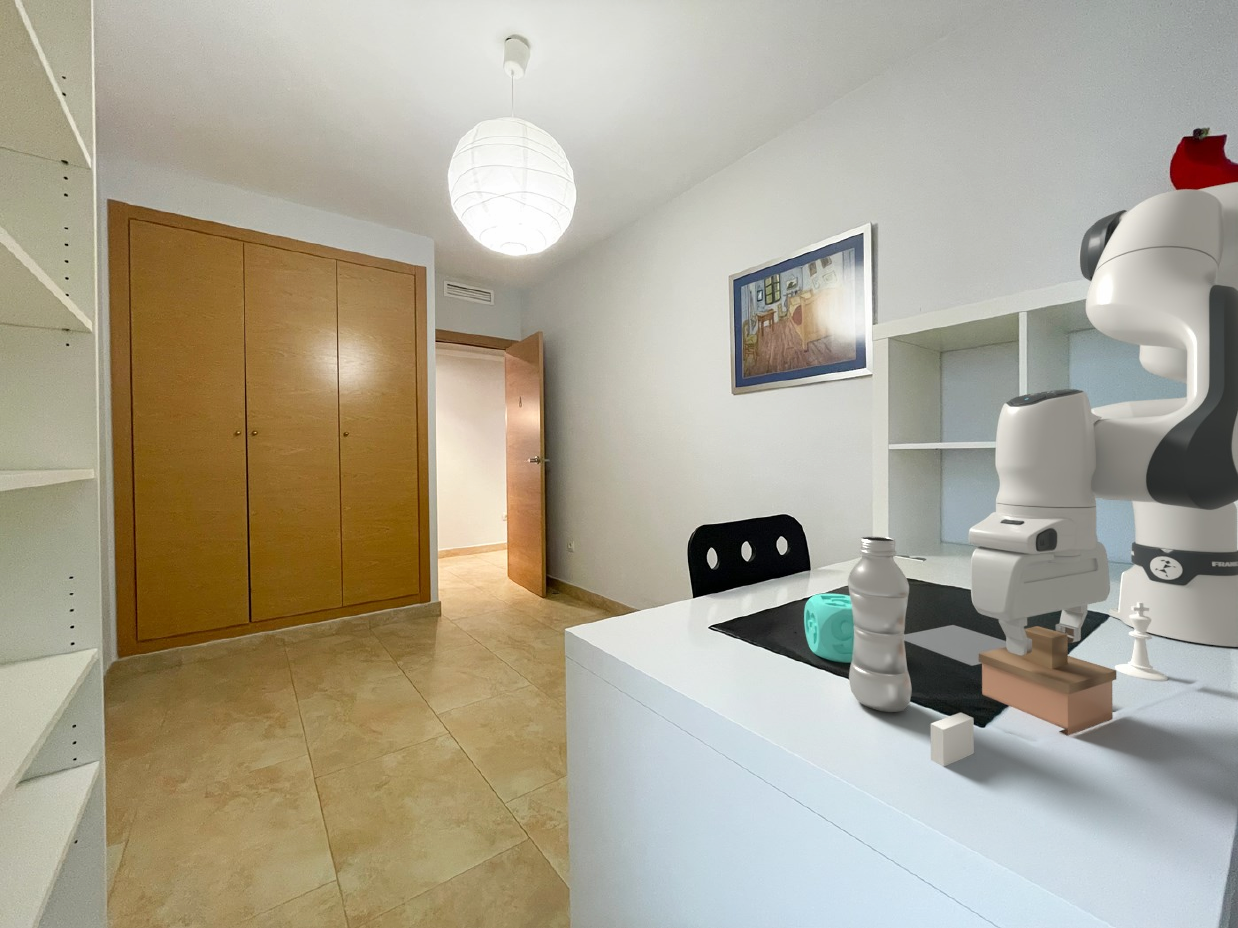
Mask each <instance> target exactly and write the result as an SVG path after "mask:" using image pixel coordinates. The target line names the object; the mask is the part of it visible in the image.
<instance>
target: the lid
mask: <svg viewBox="0 0 1238 928" xmlns="http://www.w3.org/2000/svg"><path fill="white" fill-rule="evenodd" d="M1024 629H1025V633H1026V636H1027V638H1030V639H1032V646H1031V648H1032V652H1031V653H1029V654H1026V655H1022V656H1021V655H1017V654H1014V653H1011V652H1009V651H1008V650H1007V647H1004V648H1000V649H995V650H991V651H987V652H983V653H979V662H981V663H984V664H986V665H989V666H992V667H995V668H998V669H1000V670H1003V671H1006V672H1009V673H1011V674H1014V675H1017V676H1020V677H1022V678H1025V679H1028V680H1031V681H1033V682H1036V683H1039V684H1042V685H1044V686H1047V687H1050V688H1053V689H1055V690H1058V691H1061V692H1064V693H1066V694H1072V693H1075V692H1079V691H1082V690H1085V689H1088V688H1091V687H1094V686H1097V685H1100V684H1104V683H1107V682H1110V681H1112V682H1113V681H1115V680H1116V681H1117V670H1116V669H1113V668H1109V667H1107V666H1103V665H1099V664H1097V663H1094V662H1093V663H1092V662H1089V661H1087V660H1085V659H1084V660H1083V659H1080V658H1077V657H1074V656H1070V655H1068V643H1069V642H1068V638H1067V634H1064V633H1061V632H1057V631H1056V630H1053V629H1050V628H1049V629H1048V628H1047V627H1041V626H1038V625H1035V626H1033V627H1027V628H1024Z"/></svg>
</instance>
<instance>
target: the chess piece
mask: <svg viewBox="0 0 1238 928" xmlns="http://www.w3.org/2000/svg"><path fill="white" fill-rule="evenodd" d="M1131 610H1134V611H1137V614H1133V615H1130V616H1129V618H1130V620H1131V622H1132V625H1133V627H1132V628H1133V629H1134V630H1133V631H1132V630H1131V631H1129V632H1128V636H1131V637H1133V638H1134V644H1133V651H1132V656H1131V660H1130V661H1127V663H1120V664H1116V665H1115V666H1114V670H1116V672H1119V673H1122V674H1124V675H1126V676H1129V677H1132V678H1136V679H1140V680H1145V681H1146V680H1147V681H1150V682H1151V681H1152V682H1166V681H1168V680H1169V679H1168V676H1167V675H1165V674H1164V673H1162V672H1160V671H1158V670H1156V669H1154V666H1153V665H1151V663H1150V661H1149V655H1148V648H1147V641H1146V640H1151V639H1153V637H1152V635H1151V634H1149V633H1148V632H1146V630H1147V629H1148V626H1149V624H1150V623H1151V618H1149V617H1147V616H1145V615H1143V611H1149V608H1148V607H1143V603H1142V602H1137V607H1134V606H1131Z"/></svg>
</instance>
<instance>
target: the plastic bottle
mask: <svg viewBox="0 0 1238 928" xmlns="http://www.w3.org/2000/svg"><path fill="white" fill-rule="evenodd" d="M859 553H860V554H861V558H860V559H859V561H858V562H857V563H855V565H854V567H852V569H851V571H850V572H849V574H848V577H847V578H848V579H847V586H848V592H849V596H850V599H851V605H852V612H853V623H854V642H853V656H852V662H851V663H850V667H849V674H848V680H849V685H850V690H851V692H852V694H853V696H854V697H855V699H856V700H857V701H858V702H859V703H860V704H862V705H863V706H865V707H867V708H870V709H873V710H875V711H880V712H887V713H899V712H902V711H904V710H905V709H906V708H907V706H908V705H910V703H911V697H912V692H913V691H912V690H913V689H912V683H911V677H910V674H909V670H908V665H907V656H906V646H905V641H904V635H905V630H906V629H905V628H906V616H907V615H906V613H907V607H908V602H909V601H908V599H909V593H910V585H909V582H908V579H907V576H906V575H905V573H904V572H903V571H902V569H901V567H899V564H897V562H895V560H894V557H896V556H897V551H896V539H894V538H891V537H885V536H884V537H883V536H862V537H860V548H859Z"/></svg>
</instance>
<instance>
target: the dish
mask: <svg viewBox="0 0 1238 928" xmlns="http://www.w3.org/2000/svg"><path fill="white" fill-rule="evenodd" d="M981 678H982V679H981V687H982V688H981V692H982V693H981V694H982V695H983V696H985V697H987V698H990V699H992V700H995V701H998V702H999V703H1002V704H1004V705H1007V706H1009V707H1011V708H1013V709H1016V710H1018V711H1021V712H1023V713H1025V714H1028V715H1030V716H1033V717H1035V718H1038V719H1040V720H1042V721H1044V722H1047V723H1048V724H1049V723H1050V724H1052V725H1054V726H1057V727H1059V728H1061V730H1059V731H1058V732H1059V733H1060V734H1063V735H1064V736H1065V735H1066V736H1070V735H1073V734H1076V733H1078V732H1081V731H1083V730H1086V729H1089V728H1092V727H1095V726H1097V725H1100V724H1102V723H1105V722H1108V721H1111V720H1112V719H1113V712H1114V711H1113V681H1110V682H1107V683H1104V684H1100V685H1097V686H1094V687H1091V688H1088V689H1085V690H1082V691H1079V692H1075V693H1072V694H1066V693H1064V692H1061V691H1058V690H1055V689H1053V688H1050V687H1047V686H1044V685H1042V684H1039V683H1036V682H1033V681H1031V680H1028V679H1025V678H1022V677H1020V676H1017V675H1014V674H1011V673H1009V672H1006V671H1003V670H1000V669H998V668H995V667H992V666H989V665H986V664H984V663H982V664H981Z"/></svg>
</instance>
